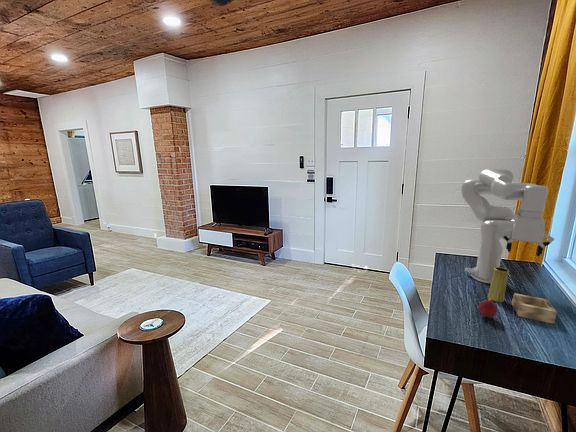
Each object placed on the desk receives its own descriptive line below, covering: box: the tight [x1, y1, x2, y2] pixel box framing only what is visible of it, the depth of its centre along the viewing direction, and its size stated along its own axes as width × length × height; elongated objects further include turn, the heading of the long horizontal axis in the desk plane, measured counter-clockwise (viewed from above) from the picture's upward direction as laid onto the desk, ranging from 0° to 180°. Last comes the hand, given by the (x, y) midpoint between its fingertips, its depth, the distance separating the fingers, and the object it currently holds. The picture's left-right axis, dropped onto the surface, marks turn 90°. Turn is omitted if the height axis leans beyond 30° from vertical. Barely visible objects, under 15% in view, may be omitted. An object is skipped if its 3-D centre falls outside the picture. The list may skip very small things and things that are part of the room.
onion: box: [478, 298, 498, 318], centre depth 109 cm, size 6×6×8 cm
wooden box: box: [511, 292, 558, 325], centre depth 113 cm, size 11×11×5 cm
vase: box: [487, 266, 510, 303], centre depth 123 cm, size 6×6×14 cm
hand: (522, 253), depth 119 cm, fingers open, 9 cm apart
